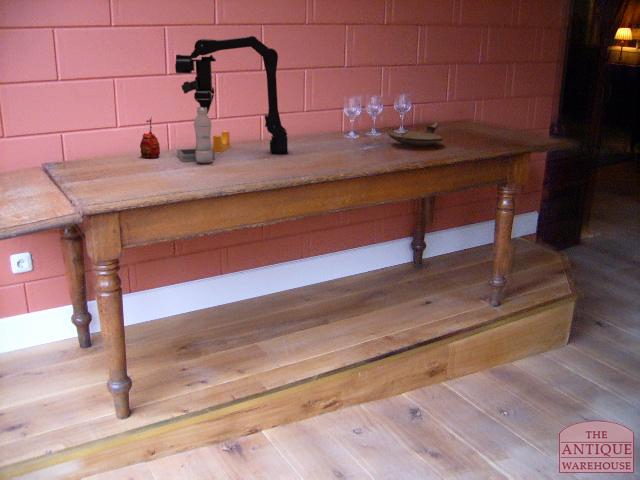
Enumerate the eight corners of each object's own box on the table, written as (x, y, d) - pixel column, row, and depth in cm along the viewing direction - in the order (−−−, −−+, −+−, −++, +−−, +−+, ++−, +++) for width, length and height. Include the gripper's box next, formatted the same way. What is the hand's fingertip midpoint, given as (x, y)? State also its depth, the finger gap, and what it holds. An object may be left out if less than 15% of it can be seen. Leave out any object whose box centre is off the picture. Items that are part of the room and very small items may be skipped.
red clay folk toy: (136, 157, 248) (133, 117, 243) (147, 154, 255) (144, 115, 250) (154, 159, 246) (151, 119, 241) (164, 156, 252) (162, 116, 247)
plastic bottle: (198, 165, 237) (196, 109, 231) (193, 161, 243) (190, 107, 237) (215, 163, 240) (213, 108, 234) (209, 160, 246) (207, 106, 239)
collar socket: (208, 153, 257) (207, 147, 256) (214, 159, 247) (214, 153, 246) (177, 155, 253) (176, 149, 252) (182, 162, 242) (182, 155, 242)
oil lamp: (375, 143, 282) (376, 126, 279) (429, 138, 297) (430, 121, 294) (408, 153, 264) (409, 134, 261) (464, 146, 279) (465, 128, 276)
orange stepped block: (219, 146, 271) (219, 131, 269) (229, 147, 271) (229, 131, 269) (209, 152, 260) (208, 136, 258) (219, 153, 260) (219, 136, 257)
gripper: (184, 71, 257) (186, 111, 262) (179, 75, 239) (181, 119, 244) (213, 71, 258) (215, 111, 263) (210, 76, 240) (211, 119, 245)
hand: (205, 115), depth 254 cm, fingers open, 9 cm apart
